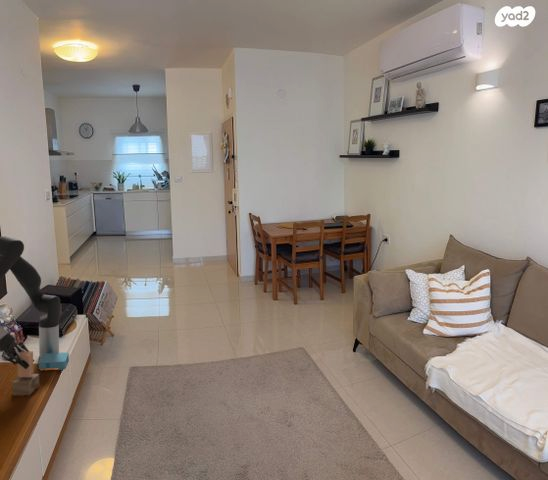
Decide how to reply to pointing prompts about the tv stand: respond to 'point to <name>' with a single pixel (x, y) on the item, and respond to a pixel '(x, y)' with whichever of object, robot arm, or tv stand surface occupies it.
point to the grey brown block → (25, 385)
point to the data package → (54, 360)
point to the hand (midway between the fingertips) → (30, 364)
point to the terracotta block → (28, 358)
